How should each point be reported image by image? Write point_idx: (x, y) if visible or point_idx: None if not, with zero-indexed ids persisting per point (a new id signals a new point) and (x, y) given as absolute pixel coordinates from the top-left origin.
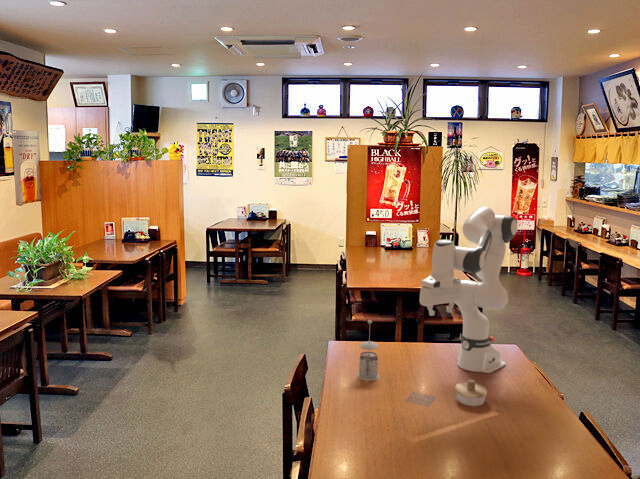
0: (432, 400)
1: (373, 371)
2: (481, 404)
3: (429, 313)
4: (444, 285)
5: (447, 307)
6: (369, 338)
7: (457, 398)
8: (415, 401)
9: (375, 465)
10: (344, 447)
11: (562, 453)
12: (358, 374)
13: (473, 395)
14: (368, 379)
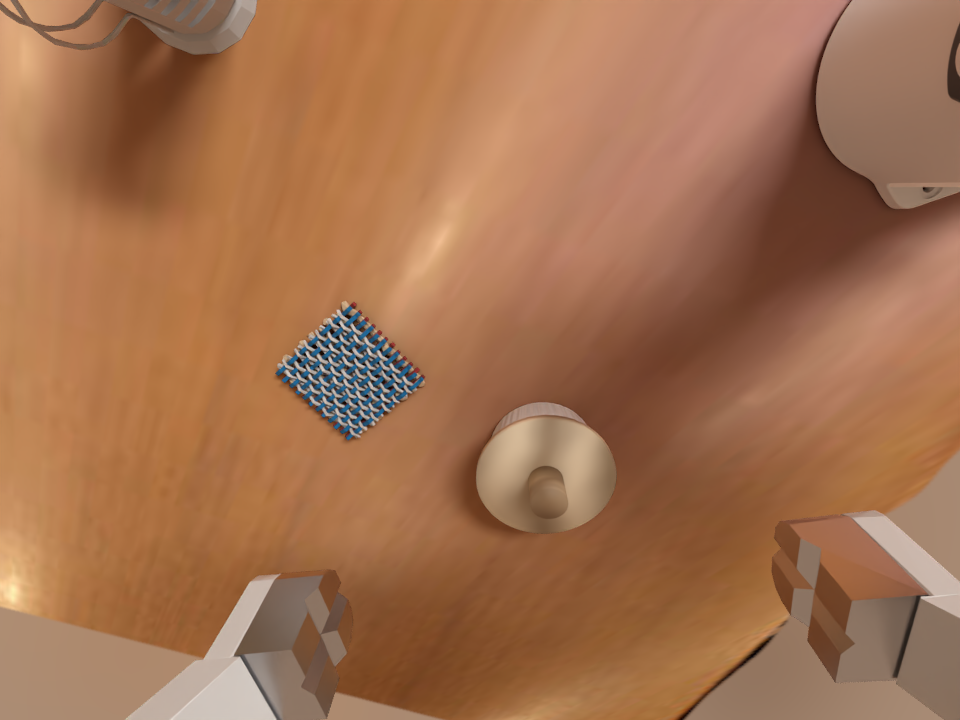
0: (389, 405)
1: (174, 21)
2: None
3: (246, 609)
4: None
5: (894, 600)
6: None
7: (493, 433)
8: (316, 388)
9: (93, 608)
10: (14, 528)
11: (570, 699)
12: None
13: (512, 526)
14: (171, 41)
